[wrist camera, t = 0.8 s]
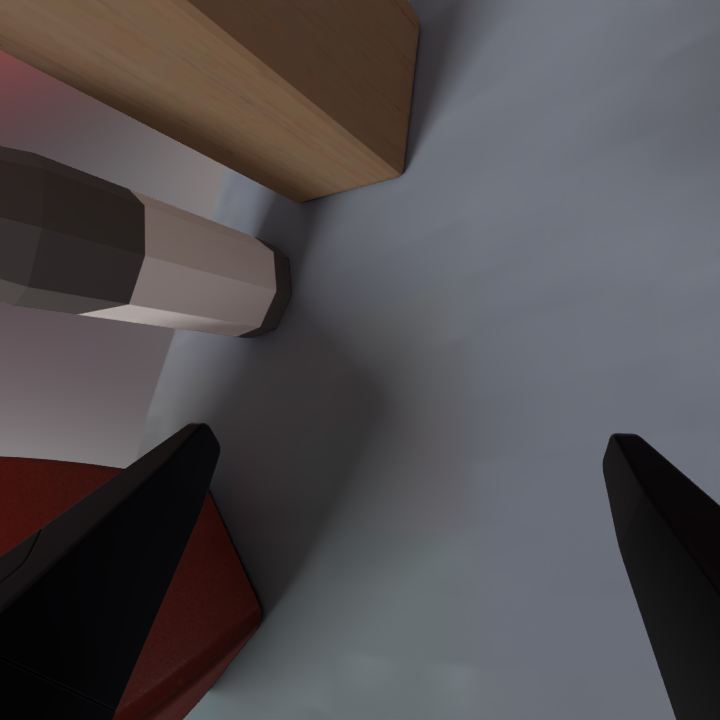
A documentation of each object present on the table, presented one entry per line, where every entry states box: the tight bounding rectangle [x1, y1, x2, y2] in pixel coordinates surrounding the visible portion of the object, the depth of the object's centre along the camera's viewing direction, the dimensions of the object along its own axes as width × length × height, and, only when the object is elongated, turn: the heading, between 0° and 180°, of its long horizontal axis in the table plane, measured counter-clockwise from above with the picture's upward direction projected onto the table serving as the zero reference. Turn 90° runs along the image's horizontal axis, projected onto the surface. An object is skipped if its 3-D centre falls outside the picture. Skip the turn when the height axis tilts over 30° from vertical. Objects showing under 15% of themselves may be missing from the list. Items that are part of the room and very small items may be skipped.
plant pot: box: [0, 456, 261, 720], centre depth 28 cm, size 19×19×17 cm
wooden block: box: [0, 0, 420, 203], centre depth 19 cm, size 10×10×20 cm
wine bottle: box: [0, 146, 291, 338], centre depth 21 cm, size 8×8×30 cm
